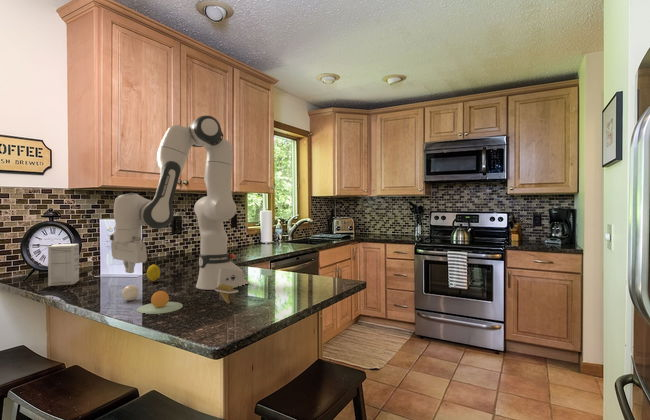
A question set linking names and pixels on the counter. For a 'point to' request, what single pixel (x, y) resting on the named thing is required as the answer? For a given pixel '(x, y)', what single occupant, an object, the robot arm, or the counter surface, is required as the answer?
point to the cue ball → (130, 292)
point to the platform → (226, 293)
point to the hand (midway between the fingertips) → (129, 272)
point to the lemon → (153, 272)
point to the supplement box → (63, 264)
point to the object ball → (159, 299)
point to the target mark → (155, 310)
